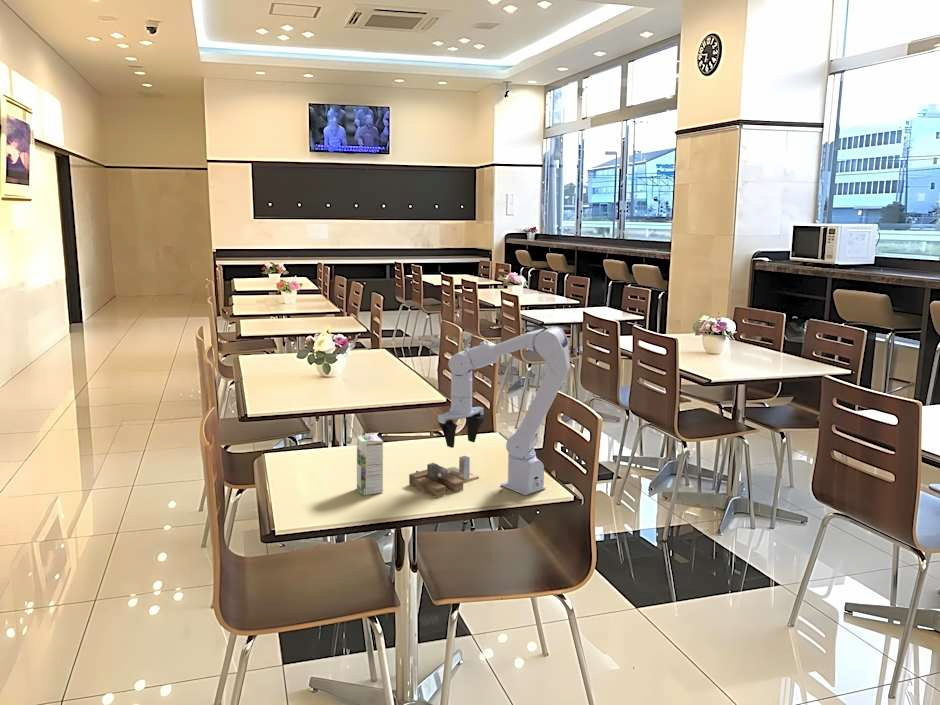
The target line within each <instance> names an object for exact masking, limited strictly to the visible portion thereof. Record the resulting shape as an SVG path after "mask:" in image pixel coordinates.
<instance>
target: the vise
mask: <svg viewBox="0 0 940 705" xmlns="http://www.w3.org/2000/svg"><path fill="white" fill-rule="evenodd" d="M426 466H427V469H423V470H420V471H418V470H416V471H415V472H412V473H409V474H408V475H409V478H408V479H409V480H408V482H409V484H408V485H409V486H410V487H413V488H414V489H415V488H416V489H418V490H419V491H422V492H423V493H426V494H428V495H430V496H433V497H434V496H435V497H434V498H436V499H437V498H441V496H442V497H445V496H446V495H447V491H446V490H449V491H451V492H454V493H457V492H460V491H463V490H464V483H463V481H461V480H459V479H457V478H454V477H452V476H450V475H448V468H445V467H444V466H441V465H439V464H437V463H435V462H431V463H428V464H427V465H426ZM444 495H445V496H444Z"/></svg>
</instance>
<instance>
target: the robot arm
mask: <svg viewBox="0 0 940 705" xmlns="http://www.w3.org/2000/svg"><path fill="white" fill-rule="evenodd" d="M564 331H565V330H563V329H562V328H560V327H559V326H553V325H552V326H549V327H547V328H546V329H545V328H540V329H536V330H535V329H534V330H531V331H528V332H526V333H523V334H520V335H517V336H515V337H512V338H509V339H508V340H505V341H502V342H500V343H493V342H491V341H488V342H486V340H484V341H481V342H479V345H477V346H473V347H471V348H470V347H466V348H464V349H463V350H461V351H459V352H457V353H454V354H453V355H452V356H450V357H449V360H448V363H447V364H448V369H449V371H450V372H451V374H450V375H451V379H450V380H451V381H450V408H449V411H447V412H444V413H442V414H439V415H437V416H438V421H437V422H438V425H439V427H440V428H441V430H442V432H443V435H444V439H445V443H446V447H448V448H451V449H452V448H454V447H455V438H456V431H457V427H458V424H456V423H454V421H456V420H462V419H465V421H466V422H465V423H466V428H467V441H469V442H471V443H475V442H476V438H477V435H478V433H479V432H478V431H479V429H480V427H481V426H482V423H483V421H484V416H482V415H484V412H485V411H484V407H481V406H474V407H473V370H477V369H481V368H483V367H487V366H489V365H493V364H495V363H498V360H499V358H500V357H501V356H503V355H507V354H510V353H513V352H517V351H520V350H523V349H527V350H529V351H531V352H534V351H536V352H537V353H538V354H539V355H540V357H541V358H542V359H543V360H544V361H545V363H546V366H547V368H548V370H547V372H546V375H545V376H544V378H543V379H542V382H541V384H540V386H539V388H538V390H537V392H536V393H535V396H534V398H533V400H532V402H531V404H530V406H529V408H528V409H527V412H526V414H525V416H524V418H523V420H521V421H522V422H521V423H520V424H519V426H518V427H517V429H516V431H515V433H514V434H513V435H510V436H509V437H508V439H507V440H506V443H505V444H506V445H505V447H506V448H505V449H506V451H507V453H508V458H507V459H508V460H507V463H508V464H507V481H505V482H502V483H500V486H501V487H504V488H505V489H508V490H512V491H514V492H516V493H519V494H522V495H523V496H527V495H529V494H530V495H531V494H533V493H537V492H538V491H543V490H546V486H545V485H544V483H545V479H544V478H545V465H544V463H543V462H542V461H541V460H540V459H538V457H537V456H536V451H535V448H534V447H535V446H536V445H537V444H538V441H539V440H538V439H539V436H538V435H539V431H540V430H541V425H542V424H543V422H544V419H545V418H546V415H547V414H548V412H549V410H550V408H551V406H552V404H553V402H554V400H555V399H556V396H557V394H558V393H559V391H560V389H561V386H562V385H563V383H564V380H565V379H566V377H567V375H568V373H569V371H570V368H571V362H570V351H569V346H570V345H569V344H570V341H569V339H568V337H567V335H566V333H565V332H564Z"/></svg>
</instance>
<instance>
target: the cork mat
mask: <svg viewBox="0 0 940 705" xmlns="http://www.w3.org/2000/svg"><path fill="white" fill-rule="evenodd" d="M453 468H456V469H458V470H459V467H456V466H455V467H453ZM448 475H450V476H452V477H454V478H457V479H459V480H461V481H463V484H464V483H468V482H470V481H471V482H472V481H474V480H478V479H479V478H480V476H478V475H476V474H474V473H471V472H469V479H466V480H462V479H460V478H459V477H456V476H454V475H452V474H449V473H448Z"/></svg>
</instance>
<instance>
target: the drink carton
mask: <svg viewBox="0 0 940 705" xmlns="http://www.w3.org/2000/svg"><path fill="white" fill-rule="evenodd" d="M383 443H384V440H383V439H382V438H381V437H379V436H378V435H377V434H365V435H359V436H357V437H356V490H358V492H359V493H360V494H361V496H370V495H376V494H383V493H384V490H383V489H384V488H383V487H384V472H383V471H384V463H383V462H384V461H383V460H384V444H383Z"/></svg>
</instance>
